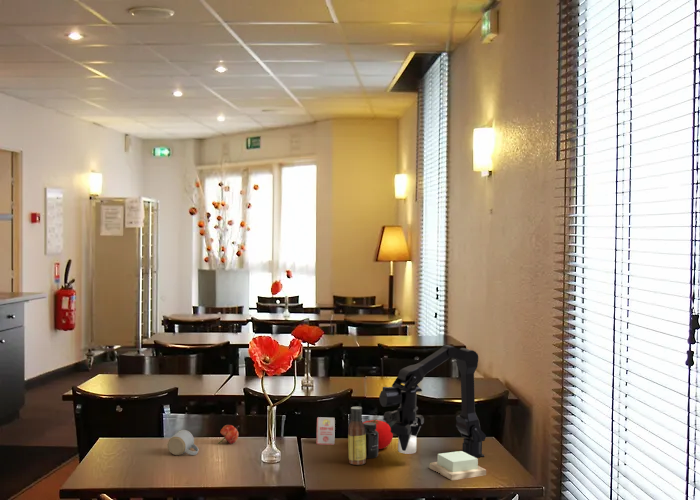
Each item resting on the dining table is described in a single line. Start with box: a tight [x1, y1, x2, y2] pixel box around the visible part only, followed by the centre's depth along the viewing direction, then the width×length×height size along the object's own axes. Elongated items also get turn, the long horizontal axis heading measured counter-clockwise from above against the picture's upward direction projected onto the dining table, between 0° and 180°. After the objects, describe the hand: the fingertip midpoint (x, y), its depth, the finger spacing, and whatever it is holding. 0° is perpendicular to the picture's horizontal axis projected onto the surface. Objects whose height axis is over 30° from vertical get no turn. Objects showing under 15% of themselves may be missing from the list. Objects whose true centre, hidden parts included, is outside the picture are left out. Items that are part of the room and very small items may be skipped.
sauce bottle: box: [347, 406, 367, 466], centre depth 281 cm, size 6×6×20 cm
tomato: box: [362, 419, 394, 450], centre depth 302 cm, size 14×13×10 cm
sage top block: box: [436, 450, 479, 472], centre depth 274 cm, size 10×10×4 cm
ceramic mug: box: [167, 429, 200, 456], centre depth 289 cm, size 11×8×8 cm
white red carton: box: [315, 416, 336, 446], centre depth 306 cm, size 4×7×10 cm, turn 88°
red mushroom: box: [217, 424, 240, 445], centre depth 304 cm, size 7×7×10 cm
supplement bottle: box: [363, 422, 379, 459], centre depth 290 cm, size 7×7×12 cm
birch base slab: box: [429, 461, 487, 481], centre depth 274 cm, size 14×14×2 cm
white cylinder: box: [397, 435, 418, 455], centre depth 281 cm, size 6×6×5 cm
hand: (407, 448), depth 281 cm, fingers closed on white cylinder, 6 cm apart
